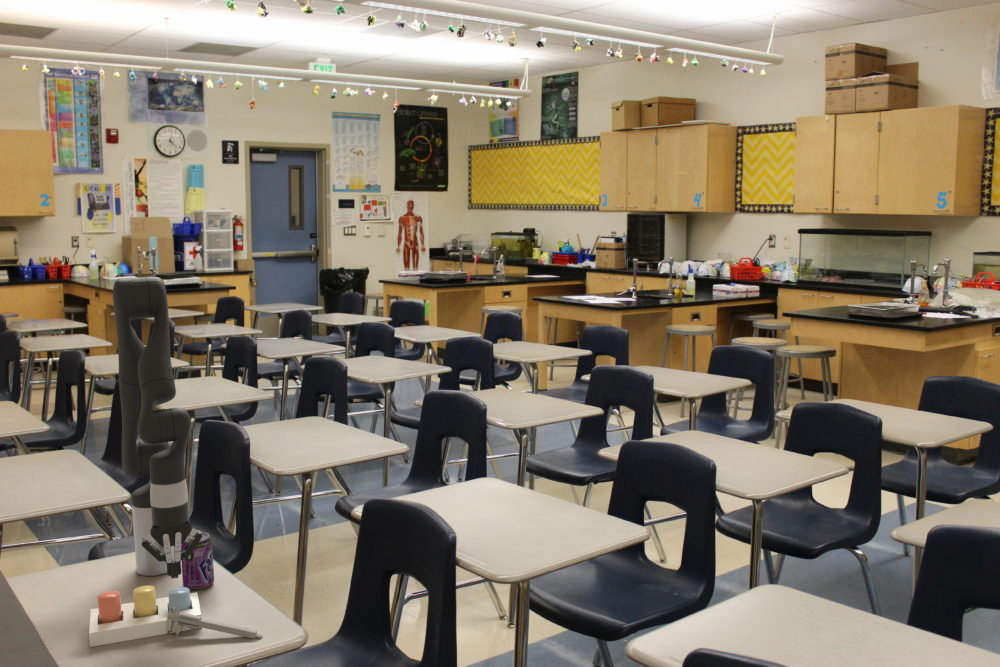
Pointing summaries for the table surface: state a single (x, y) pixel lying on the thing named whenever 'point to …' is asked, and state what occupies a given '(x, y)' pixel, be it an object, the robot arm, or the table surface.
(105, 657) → the table surface
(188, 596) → the button blue
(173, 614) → the caliper
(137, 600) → the yellow rounded cylinder
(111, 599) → the button terracotta
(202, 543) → the beverage can
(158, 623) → the console
